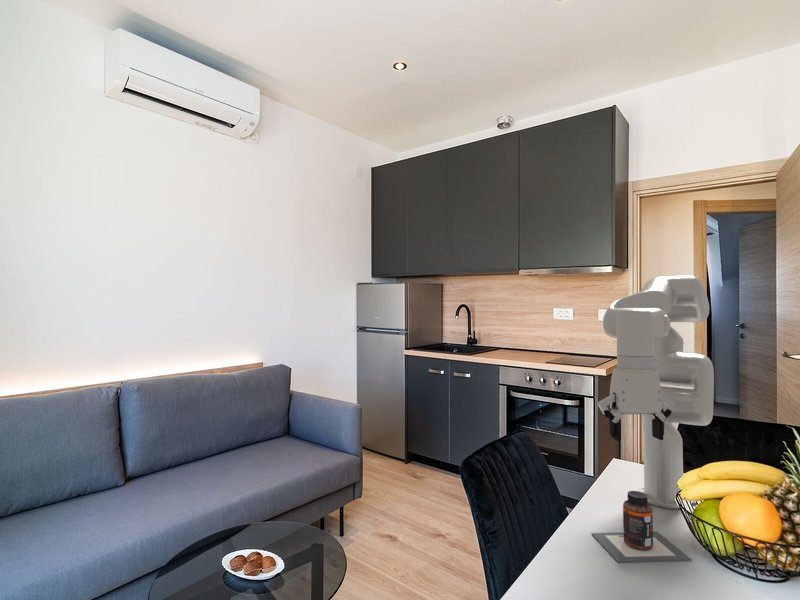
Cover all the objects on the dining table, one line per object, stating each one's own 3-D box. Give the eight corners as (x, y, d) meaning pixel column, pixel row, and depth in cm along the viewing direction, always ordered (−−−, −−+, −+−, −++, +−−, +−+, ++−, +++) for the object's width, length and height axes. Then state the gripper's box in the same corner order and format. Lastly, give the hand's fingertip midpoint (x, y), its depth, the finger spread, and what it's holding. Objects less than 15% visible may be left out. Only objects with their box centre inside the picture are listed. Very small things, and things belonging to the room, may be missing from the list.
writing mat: (657, 532, 107) (657, 530, 107) (691, 560, 95) (691, 558, 95) (591, 534, 106) (591, 532, 106) (617, 562, 94) (617, 560, 94)
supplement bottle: (657, 552, 97) (656, 500, 97) (628, 550, 98) (627, 498, 99) (647, 539, 103) (647, 489, 103) (620, 536, 104) (619, 487, 104)
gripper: (662, 360, 106) (663, 433, 105) (590, 361, 105) (591, 434, 105) (683, 364, 98) (685, 443, 98) (606, 365, 97) (607, 444, 97)
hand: (636, 438), depth 101 cm, fingers open, 9 cm apart
